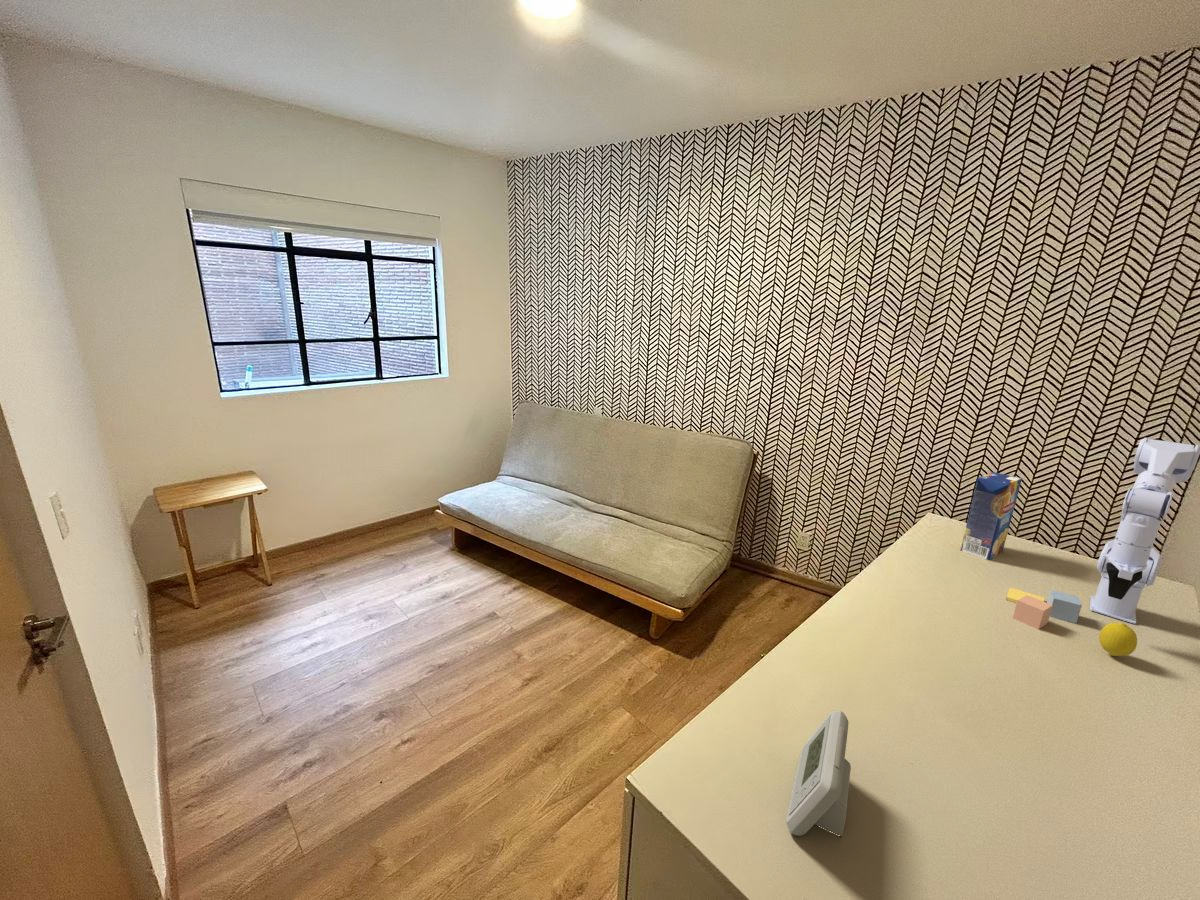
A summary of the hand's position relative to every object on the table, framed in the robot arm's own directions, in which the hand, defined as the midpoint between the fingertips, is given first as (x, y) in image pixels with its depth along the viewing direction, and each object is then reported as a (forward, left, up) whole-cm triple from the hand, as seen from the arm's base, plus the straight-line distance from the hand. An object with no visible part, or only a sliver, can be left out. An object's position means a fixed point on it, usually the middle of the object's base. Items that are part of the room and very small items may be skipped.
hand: (1114, 597), depth 112 cm
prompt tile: (-5, -14, -9) cm, 18 cm away
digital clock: (+90, -30, -10) cm, 95 cm away
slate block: (-3, -7, -10) cm, 12 cm away
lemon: (+10, +2, -10) cm, 14 cm away
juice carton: (-32, -27, -10) cm, 43 cm away
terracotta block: (+6, -12, -10) cm, 17 cm away
